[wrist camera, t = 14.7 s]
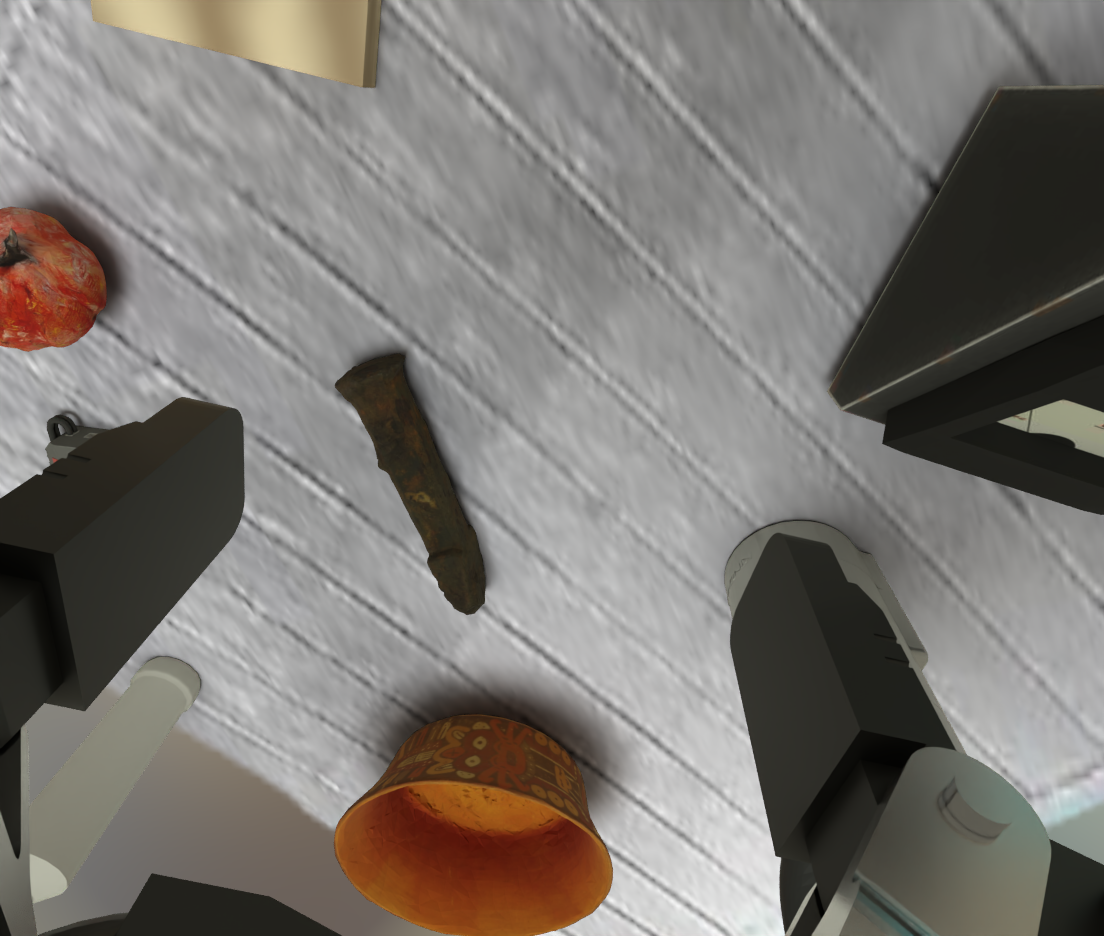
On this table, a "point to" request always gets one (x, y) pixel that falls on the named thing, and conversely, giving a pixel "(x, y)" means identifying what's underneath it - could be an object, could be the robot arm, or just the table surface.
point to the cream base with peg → (264, 31)
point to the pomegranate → (45, 282)
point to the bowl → (477, 833)
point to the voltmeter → (1001, 308)
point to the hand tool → (418, 476)
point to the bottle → (104, 773)
